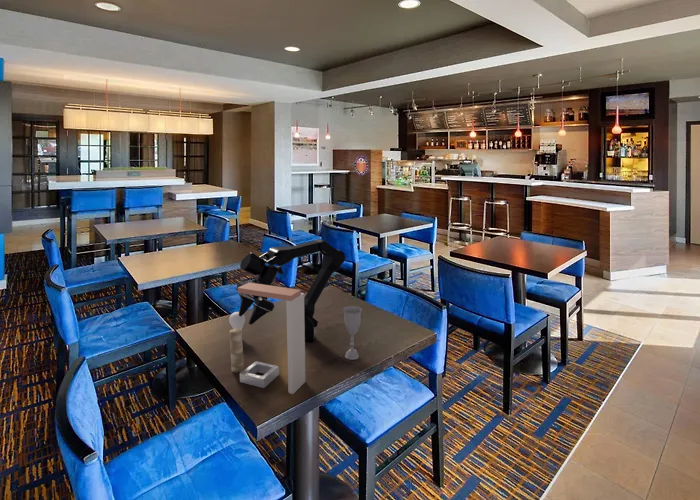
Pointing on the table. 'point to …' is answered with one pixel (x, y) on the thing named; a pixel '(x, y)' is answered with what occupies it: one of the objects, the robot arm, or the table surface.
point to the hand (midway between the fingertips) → (244, 320)
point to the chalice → (352, 327)
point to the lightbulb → (237, 320)
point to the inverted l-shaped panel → (288, 327)
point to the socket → (256, 380)
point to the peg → (236, 350)
